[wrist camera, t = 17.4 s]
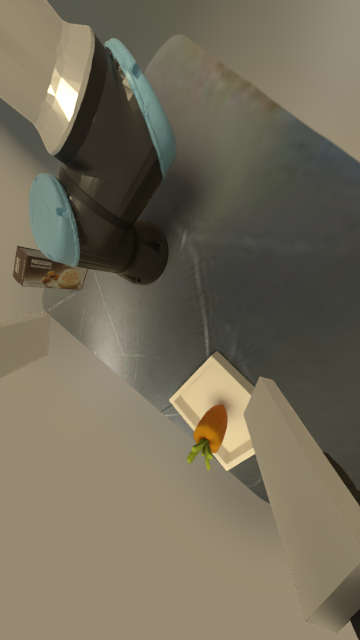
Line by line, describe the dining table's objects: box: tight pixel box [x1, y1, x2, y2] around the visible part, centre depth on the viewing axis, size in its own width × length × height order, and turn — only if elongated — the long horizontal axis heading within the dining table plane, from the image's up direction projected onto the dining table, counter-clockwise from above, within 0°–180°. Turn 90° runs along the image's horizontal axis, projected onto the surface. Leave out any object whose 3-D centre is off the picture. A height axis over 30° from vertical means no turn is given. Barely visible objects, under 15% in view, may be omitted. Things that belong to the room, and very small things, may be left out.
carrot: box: [187, 404, 228, 470], centre depth 31 cm, size 5×5×15 cm
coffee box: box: [13, 246, 87, 290], centre depth 52 cm, size 9×6×16 cm
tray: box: [169, 351, 255, 471], centre depth 37 cm, size 18×16×4 cm
